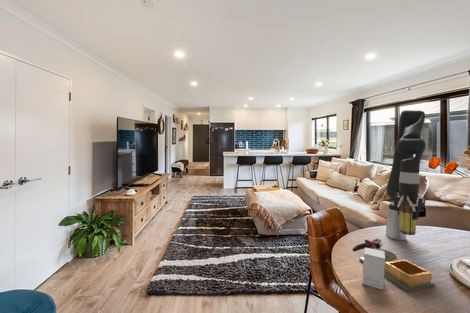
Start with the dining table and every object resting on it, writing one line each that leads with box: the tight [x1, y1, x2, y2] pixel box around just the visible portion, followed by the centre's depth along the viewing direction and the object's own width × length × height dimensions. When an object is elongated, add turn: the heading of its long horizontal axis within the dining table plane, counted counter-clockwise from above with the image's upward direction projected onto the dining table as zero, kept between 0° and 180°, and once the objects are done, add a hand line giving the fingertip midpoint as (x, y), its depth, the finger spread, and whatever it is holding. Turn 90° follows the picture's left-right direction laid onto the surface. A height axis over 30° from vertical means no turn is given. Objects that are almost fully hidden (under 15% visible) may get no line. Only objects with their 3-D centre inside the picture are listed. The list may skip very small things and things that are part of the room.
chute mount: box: [359, 248, 436, 293], centre depth 103 cm, size 24×14×6 cm, turn 14°
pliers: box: [352, 238, 382, 252], centre depth 127 cm, size 3×9×22 cm
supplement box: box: [361, 247, 385, 291], centre depth 95 cm, size 7×7×13 cm
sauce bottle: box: [399, 192, 417, 236], centre depth 109 cm, size 6×6×20 cm
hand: (407, 217), depth 110 cm, fingers closed on sauce bottle, 6 cm apart
